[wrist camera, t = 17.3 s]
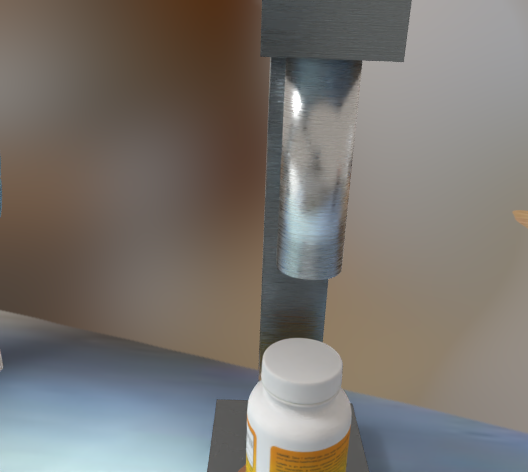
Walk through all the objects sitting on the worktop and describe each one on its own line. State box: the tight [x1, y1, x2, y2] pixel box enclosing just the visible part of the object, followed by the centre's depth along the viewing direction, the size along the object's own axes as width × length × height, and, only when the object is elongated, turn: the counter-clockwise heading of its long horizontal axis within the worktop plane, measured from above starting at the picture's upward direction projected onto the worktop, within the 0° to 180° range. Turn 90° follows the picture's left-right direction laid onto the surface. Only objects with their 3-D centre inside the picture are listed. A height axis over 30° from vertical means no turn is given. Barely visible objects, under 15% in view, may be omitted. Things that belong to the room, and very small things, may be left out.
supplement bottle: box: [246, 338, 352, 472], centre depth 26 cm, size 5×5×10 cm
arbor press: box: [207, 0, 412, 472], centre depth 25 cm, size 14×10×35 cm
